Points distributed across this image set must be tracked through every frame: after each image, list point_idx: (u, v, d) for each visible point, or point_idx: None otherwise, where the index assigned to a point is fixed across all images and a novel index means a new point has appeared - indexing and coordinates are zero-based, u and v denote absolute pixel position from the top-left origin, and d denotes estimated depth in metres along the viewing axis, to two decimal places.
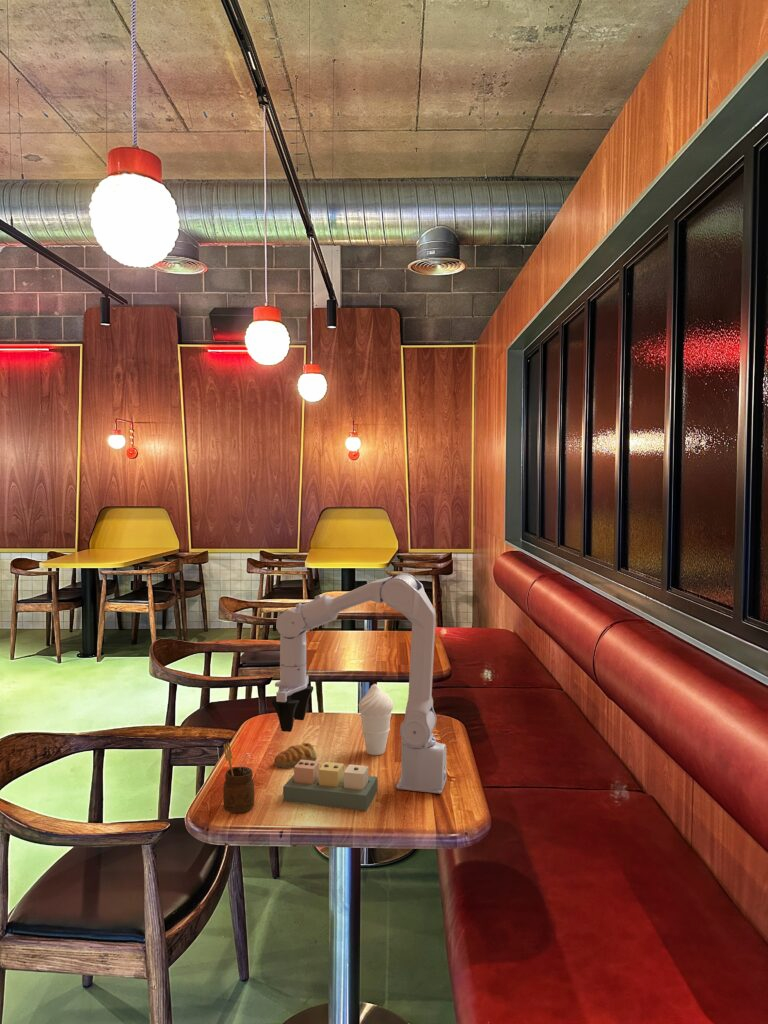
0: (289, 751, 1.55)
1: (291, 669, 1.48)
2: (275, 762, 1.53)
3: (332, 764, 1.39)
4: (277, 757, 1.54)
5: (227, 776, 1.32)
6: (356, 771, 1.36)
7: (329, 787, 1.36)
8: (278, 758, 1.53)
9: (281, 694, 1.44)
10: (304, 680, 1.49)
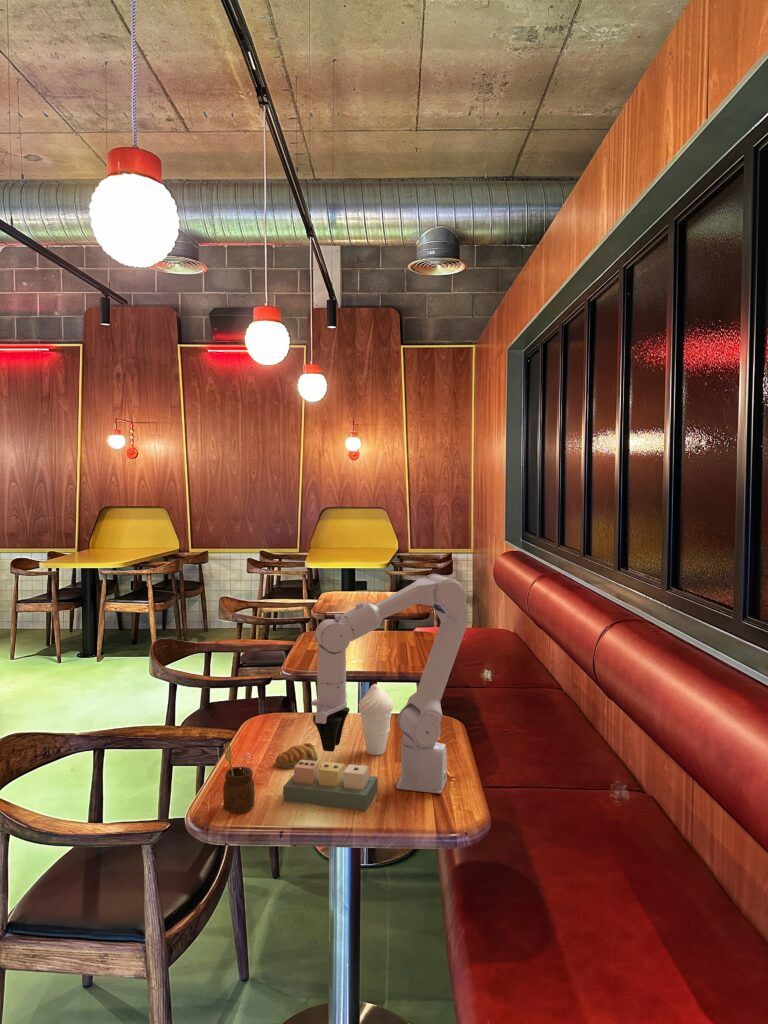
0: (290, 751, 1.55)
1: (330, 687, 1.35)
2: (277, 762, 1.53)
3: (332, 764, 1.39)
4: (278, 757, 1.54)
5: (227, 776, 1.32)
6: (356, 771, 1.36)
7: (329, 787, 1.36)
8: (279, 759, 1.53)
9: (320, 715, 1.31)
10: (344, 699, 1.37)
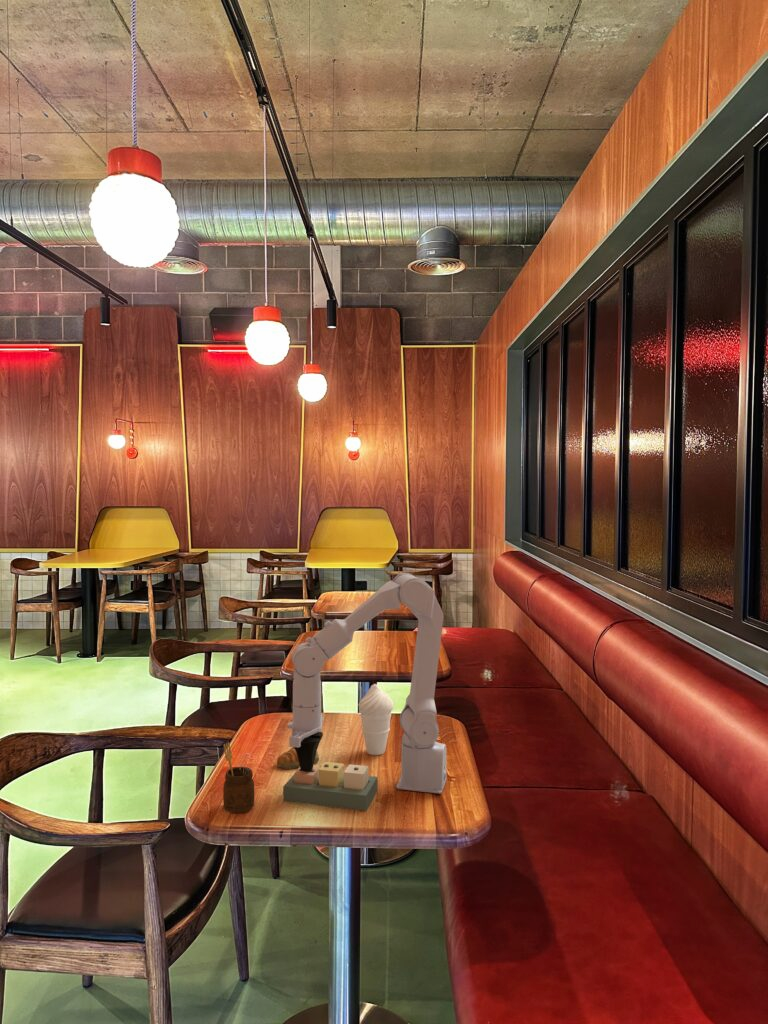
0: (292, 751, 1.54)
1: (305, 710, 1.37)
2: (278, 763, 1.52)
3: (332, 764, 1.39)
4: (280, 758, 1.53)
5: (227, 776, 1.32)
6: (356, 771, 1.36)
7: (329, 787, 1.36)
8: (280, 759, 1.53)
9: (295, 739, 1.32)
10: (319, 722, 1.38)
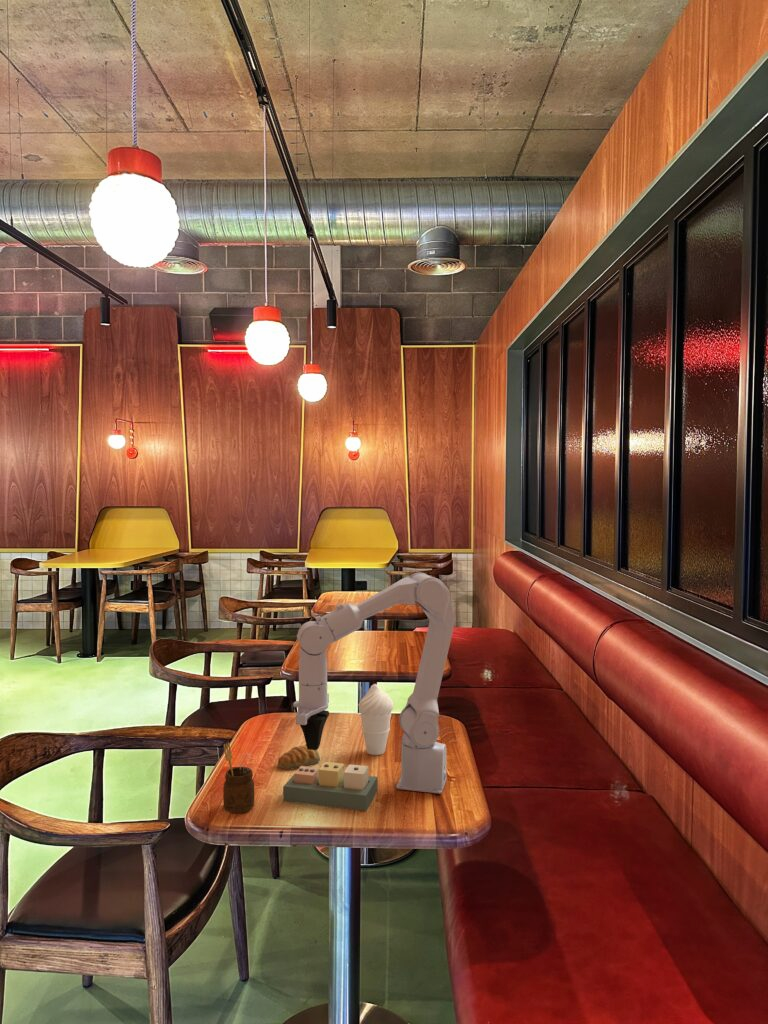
0: (293, 752, 1.54)
1: (311, 688, 1.36)
2: (279, 763, 1.52)
3: (332, 764, 1.39)
4: (281, 758, 1.53)
5: (227, 776, 1.32)
6: (356, 771, 1.36)
7: (329, 787, 1.36)
8: (281, 760, 1.52)
9: (301, 716, 1.32)
10: (325, 700, 1.38)
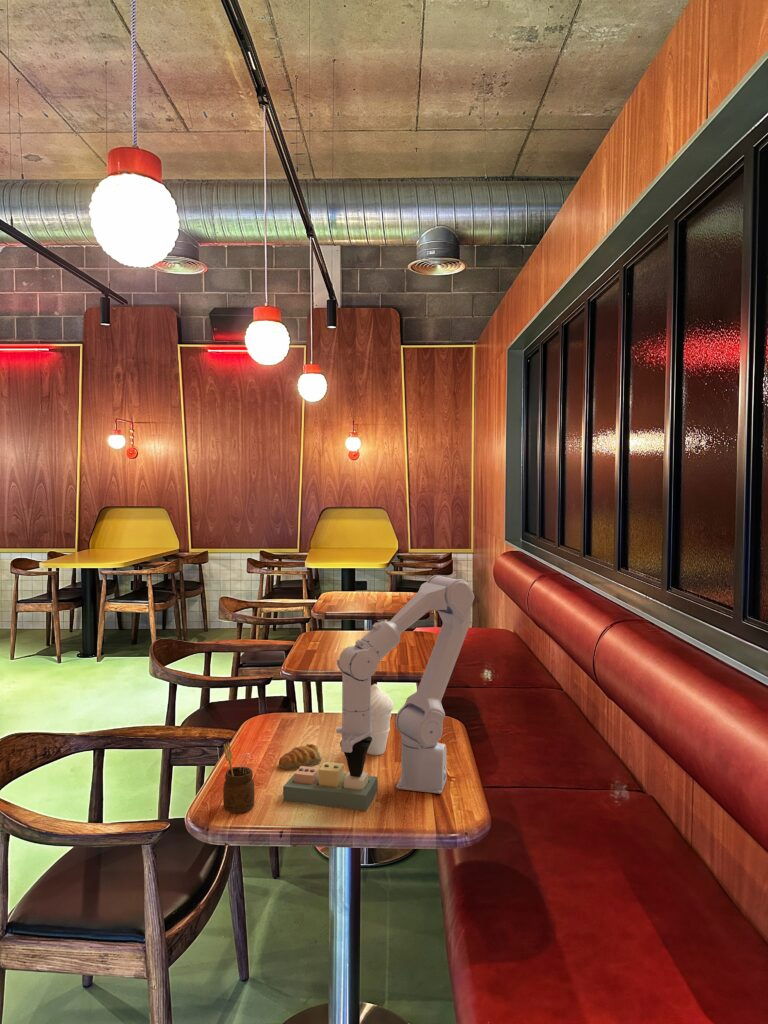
0: (293, 752, 1.54)
1: (355, 715, 1.34)
2: (280, 763, 1.52)
3: (332, 764, 1.39)
4: (282, 759, 1.53)
5: (227, 776, 1.32)
6: (355, 778, 1.36)
7: (329, 787, 1.36)
8: (282, 760, 1.52)
9: (346, 744, 1.30)
10: (369, 726, 1.36)
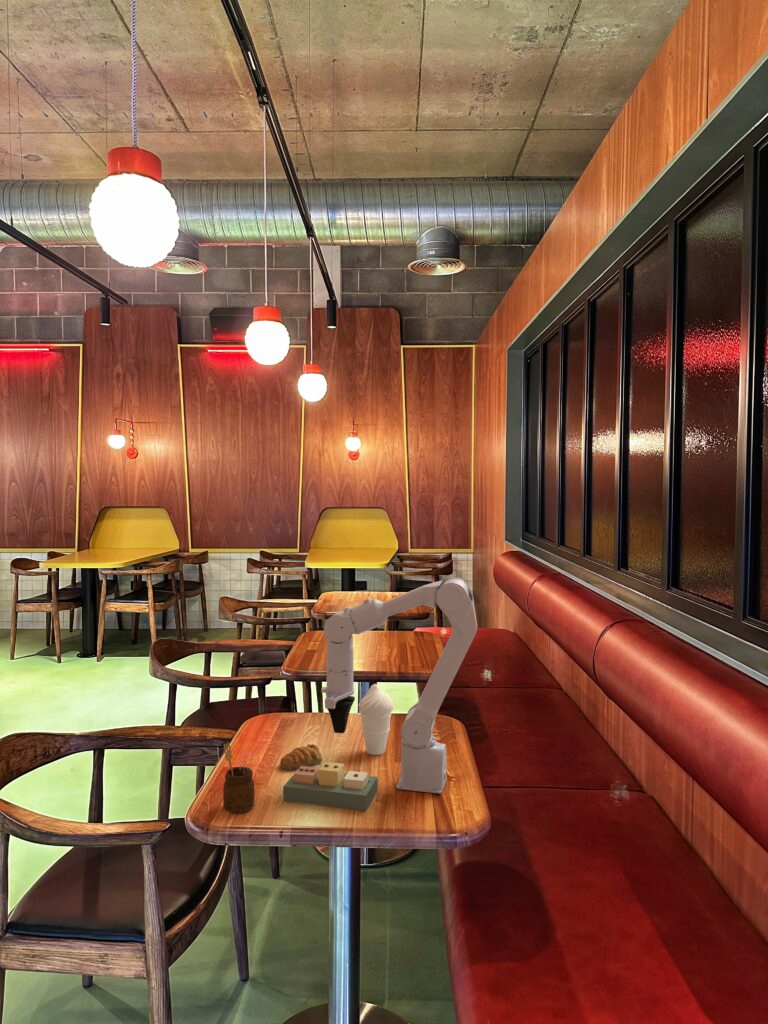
0: (295, 753, 1.54)
1: (339, 675, 1.44)
2: (282, 764, 1.52)
3: (332, 764, 1.39)
4: (283, 759, 1.53)
5: (227, 776, 1.32)
6: (355, 778, 1.36)
7: (329, 787, 1.36)
8: (284, 761, 1.52)
9: (330, 700, 1.40)
10: (351, 686, 1.46)
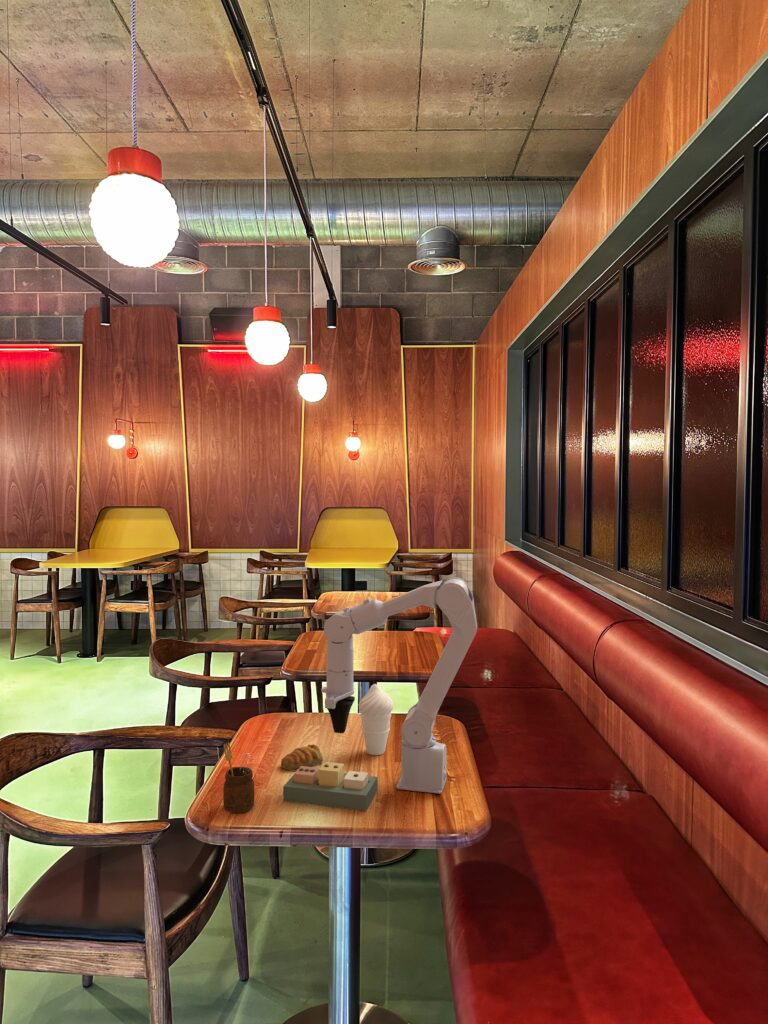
0: (296, 753, 1.54)
1: (339, 675, 1.44)
2: (283, 764, 1.52)
3: (332, 764, 1.39)
4: (284, 760, 1.52)
5: (227, 776, 1.32)
6: (355, 778, 1.36)
7: (329, 787, 1.36)
8: (285, 761, 1.52)
9: (330, 700, 1.40)
10: (351, 686, 1.46)
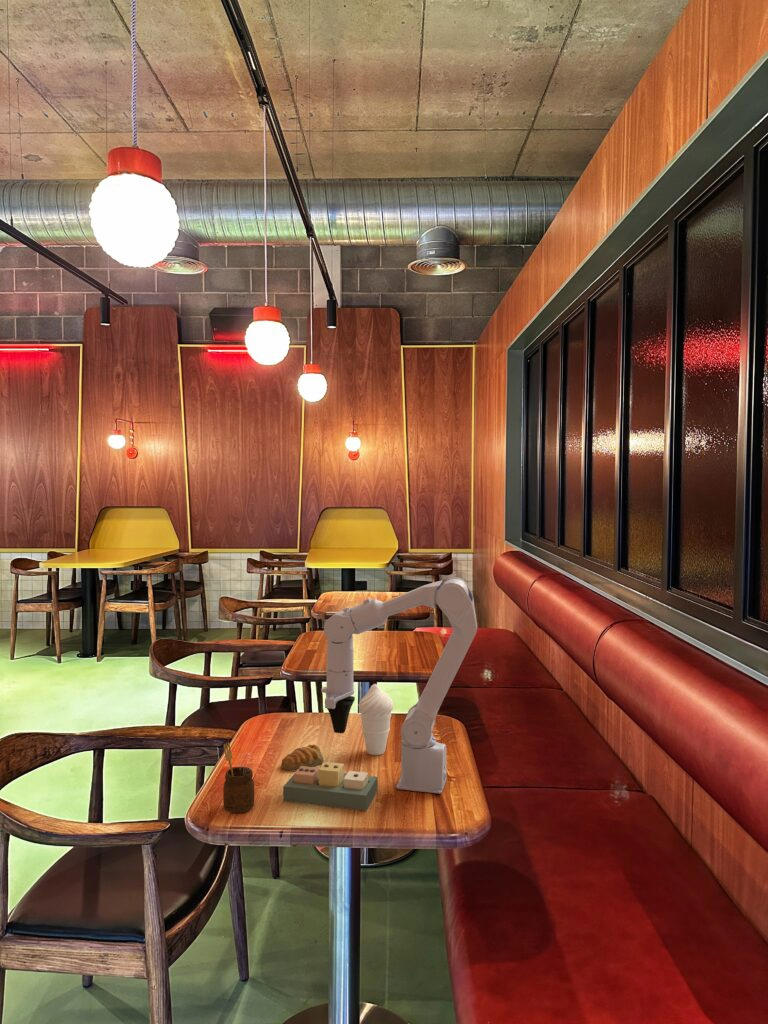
0: (296, 753, 1.54)
1: (339, 675, 1.44)
2: (283, 764, 1.52)
3: (332, 764, 1.39)
4: (284, 760, 1.52)
5: (227, 776, 1.32)
6: (355, 778, 1.36)
7: (329, 787, 1.36)
8: (285, 761, 1.52)
9: (330, 700, 1.40)
10: (351, 686, 1.46)
